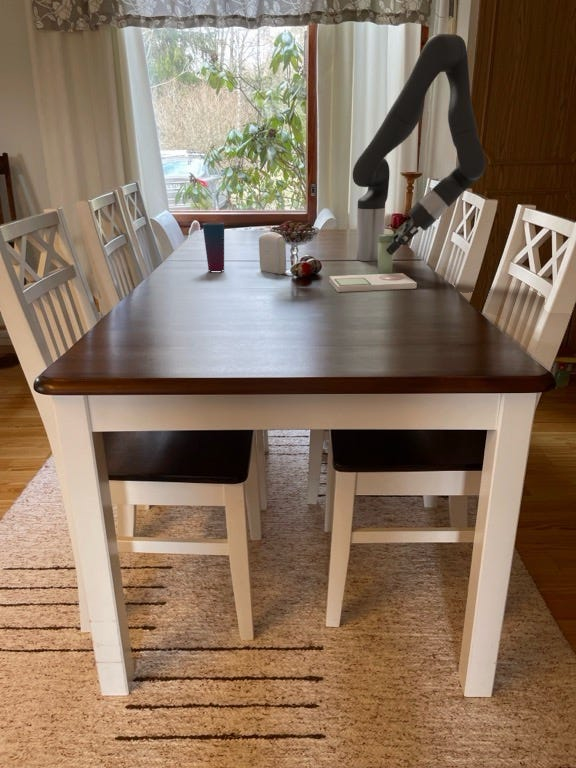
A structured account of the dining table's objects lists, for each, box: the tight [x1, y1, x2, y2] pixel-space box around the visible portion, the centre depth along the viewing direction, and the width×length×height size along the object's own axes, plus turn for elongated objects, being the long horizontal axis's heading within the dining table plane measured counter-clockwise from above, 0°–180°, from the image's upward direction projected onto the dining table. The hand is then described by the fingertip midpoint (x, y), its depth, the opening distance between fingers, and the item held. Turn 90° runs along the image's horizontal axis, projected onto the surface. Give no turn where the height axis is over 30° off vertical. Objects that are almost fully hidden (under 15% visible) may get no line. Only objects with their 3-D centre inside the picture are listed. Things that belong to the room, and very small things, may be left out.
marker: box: [376, 233, 394, 274], centre depth 182 cm, size 4×4×12 cm
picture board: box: [328, 272, 418, 293], centre depth 172 cm, size 14×22×2 cm, turn 96°
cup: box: [202, 221, 225, 271], centre depth 193 cm, size 7×7×15 cm
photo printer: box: [258, 231, 287, 275], centre depth 191 cm, size 10×4×12 cm, turn 39°
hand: (386, 250), depth 181 cm, fingers open, 8 cm apart
